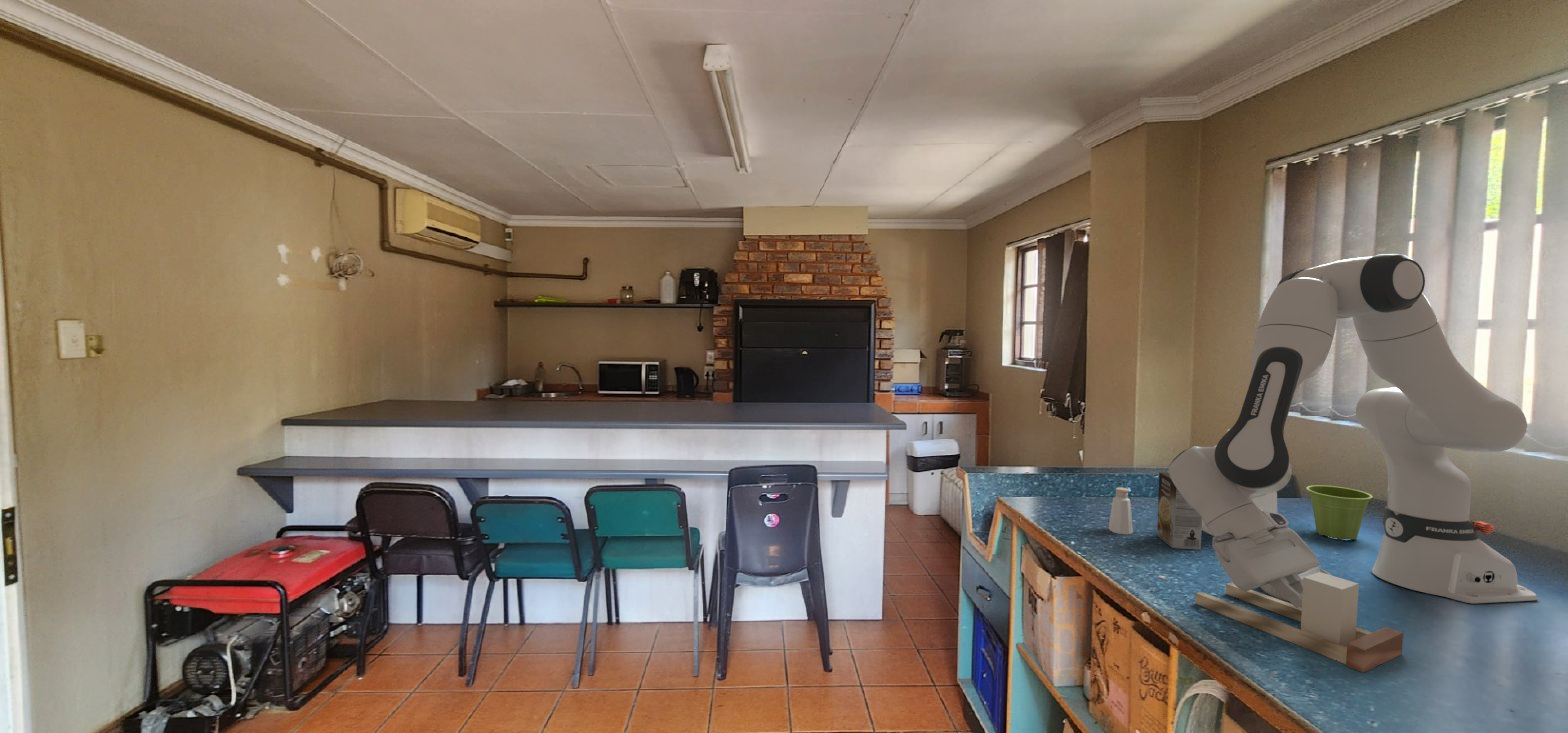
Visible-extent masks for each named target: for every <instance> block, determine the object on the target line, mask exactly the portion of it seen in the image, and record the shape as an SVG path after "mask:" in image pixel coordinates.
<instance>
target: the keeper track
mask: <svg viewBox="0 0 1568 733" xmlns="http://www.w3.org/2000/svg"><path fill="white" fill-rule="evenodd" d="M1225 595H1227V596H1230V597H1233V598H1235V597H1236V598H1235V599H1238V598H1239V599H1238V600H1241V601H1244V602H1246V603H1250V604H1252V605H1255V606H1257V607H1259V608H1262V609H1265V610H1268V611H1271V612H1273V613H1275V614H1279V615H1282V616H1285V617H1287V618H1290V619H1292V620H1293V621H1294V620H1295V621H1297V622H1300V623H1301V616H1302V606H1301V607H1299V608H1296V607H1294V606H1293V605H1292V603H1291V602H1288V601H1285V600H1281V599H1279V598H1276V597H1273V596H1271V595H1269V594H1264V593H1262V592H1258V591H1257V590H1255V589H1251V590H1248V591H1242V590H1241V589H1239V588H1238V587H1237V586H1236V585H1235V584H1234V583H1233V582H1229V583H1226V584H1225ZM1194 599H1195V600H1194V601H1195V602H1194V604H1195V605H1198V606H1200V607H1203V608H1206V609H1208V610H1210V611H1213V612H1215V613H1218V614H1219V615H1223V616H1225V617H1227V618H1230V619H1233V620H1235V621H1238V622H1240V623H1243V624H1244V625H1247V626H1250V627H1253V628H1255V629H1257V630H1260V631H1262V632H1264V633H1267V634H1269V635H1272V636H1275V637H1278V638H1280V639H1282V640H1285V641H1287V642H1290V643H1293V644H1294V645H1297V646H1300V647H1302V648H1305V649H1307V650H1308V651H1309V650H1310V651H1312V652H1314V653H1318V654H1319V655H1322V656H1325V657H1327V658H1329V659H1332V660H1334V661H1336V660H1337V661H1336V662H1339V663H1342V664H1344V665H1345V666H1346V667H1348V668H1351V669H1353V670H1356V671H1358V672H1360V673H1362V674H1363V673H1366V672H1368V671H1371V670H1372V669H1374V668H1376V666H1377V667H1379V666H1380V664H1381V665H1382V664H1385V663H1387V662H1389V661H1390V660H1393V659H1395V658H1397V657H1400V656H1401V655H1403V640H1404V632H1402V631H1399V630H1396V629H1394V628H1390V627H1388V626H1385V627H1382V628H1380V629H1377V630H1375V631H1373V632H1372V631H1369V630H1366V629H1364V628H1361V627H1358V626H1356V639H1355V640H1354V641H1352V642H1350V643H1347V647H1344V646H1341V645H1339V644H1336V643H1334V642H1331V641H1328V640H1326V639H1323V638H1321V637H1318V636H1315V635H1313V634H1310V633H1308V632H1305V631H1302V630H1301V628H1300V629H1299V628H1297V627H1294V626H1292V625H1289V624H1286V623H1283V622H1281V621H1279V620H1276V619H1273V618H1271V617H1268V616H1265V615H1263V614H1259V613H1257V612H1255V611H1252V610H1249V609H1247V608H1245V607H1242V606H1241V605H1240V606H1239V605H1236V604H1234V603H1232V602H1229V601H1226V600H1224V599H1221V598H1218V597H1216V596H1213V595H1211V594H1208V593H1205V592H1202V591H1198V592H1195V597H1194ZM1378 665H1379V666H1378Z"/></svg>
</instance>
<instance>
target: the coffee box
mask: <svg viewBox="0 0 1568 733" xmlns="http://www.w3.org/2000/svg"><path fill="white" fill-rule="evenodd" d="M1157 495H1158V498H1157V521H1156V522H1157V523H1156V535H1157V536H1158V538H1160V539H1161V540H1162V541H1164V542H1165V543H1166V545H1168V546H1169V547H1171V548H1172V549H1181V550H1197V551H1198V550H1201V549H1202V548H1201V546H1202V531H1203V530H1202V517H1201V516H1200V514H1199V513H1198V512H1197V511H1196V510H1194V509H1193V508H1192V507H1191V506H1190V505H1189V504H1188V503H1187V502H1186V500H1185V499H1184V498H1183V496H1182V495H1181V494H1180V492H1179V491H1178V489H1177V488H1176V486H1175V485H1174V483H1173V482H1172V480H1171V478H1170V475H1169V472H1162V471H1161V472H1158V493H1157Z"/></svg>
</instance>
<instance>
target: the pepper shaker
mask: <svg viewBox="0 0 1568 733" xmlns="http://www.w3.org/2000/svg"><path fill="white" fill-rule="evenodd" d="M1128 496H1129V489H1128V488H1125V487H1116V488H1115V496H1114V497H1113V498H1112V503H1111V510H1110V516H1109V524H1108V530H1109V531H1110V532H1111V531H1112V532H1111V533H1115V534H1118V535H1131V534H1133V533H1134V529H1133V518H1132V517H1133V516H1132V503H1131V499H1130V498H1129V497H1128Z"/></svg>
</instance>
